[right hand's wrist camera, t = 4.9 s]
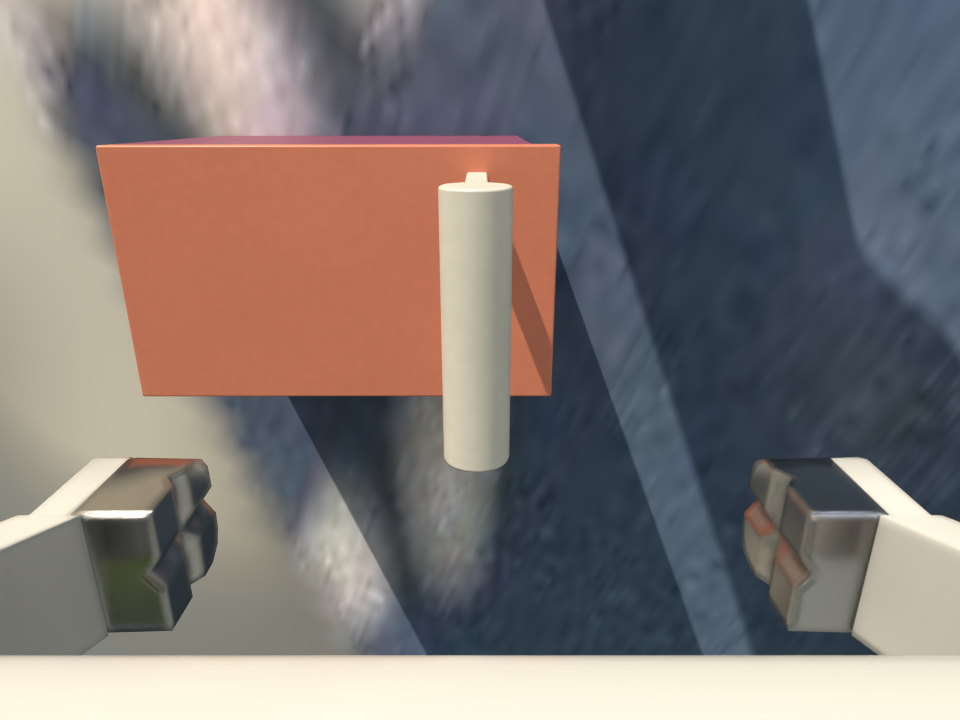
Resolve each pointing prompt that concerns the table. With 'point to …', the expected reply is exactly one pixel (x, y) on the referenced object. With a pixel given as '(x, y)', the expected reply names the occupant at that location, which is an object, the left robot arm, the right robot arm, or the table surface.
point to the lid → (343, 274)
